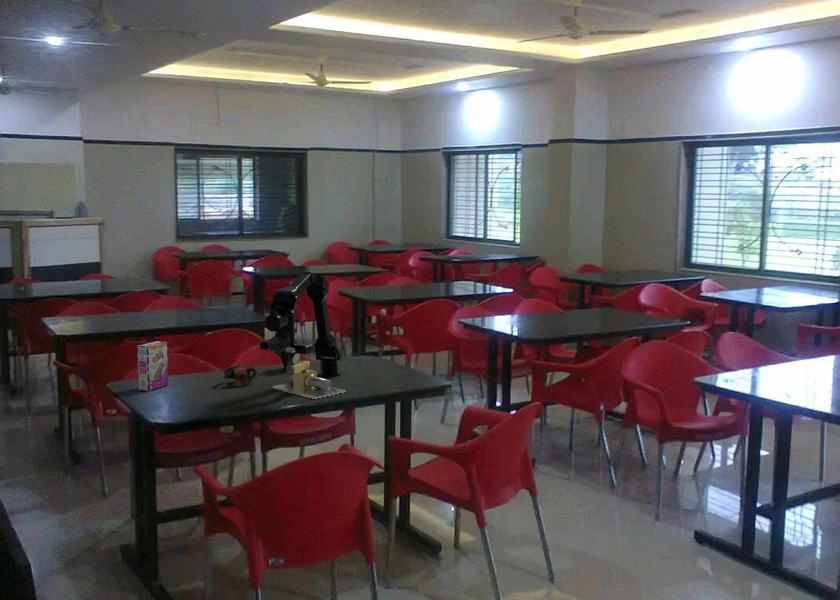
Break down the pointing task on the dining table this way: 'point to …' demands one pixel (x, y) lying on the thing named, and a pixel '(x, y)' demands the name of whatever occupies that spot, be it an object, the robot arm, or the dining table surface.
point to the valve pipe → (308, 385)
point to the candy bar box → (152, 365)
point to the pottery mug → (240, 374)
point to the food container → (295, 358)
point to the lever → (297, 367)
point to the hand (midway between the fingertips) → (286, 370)
